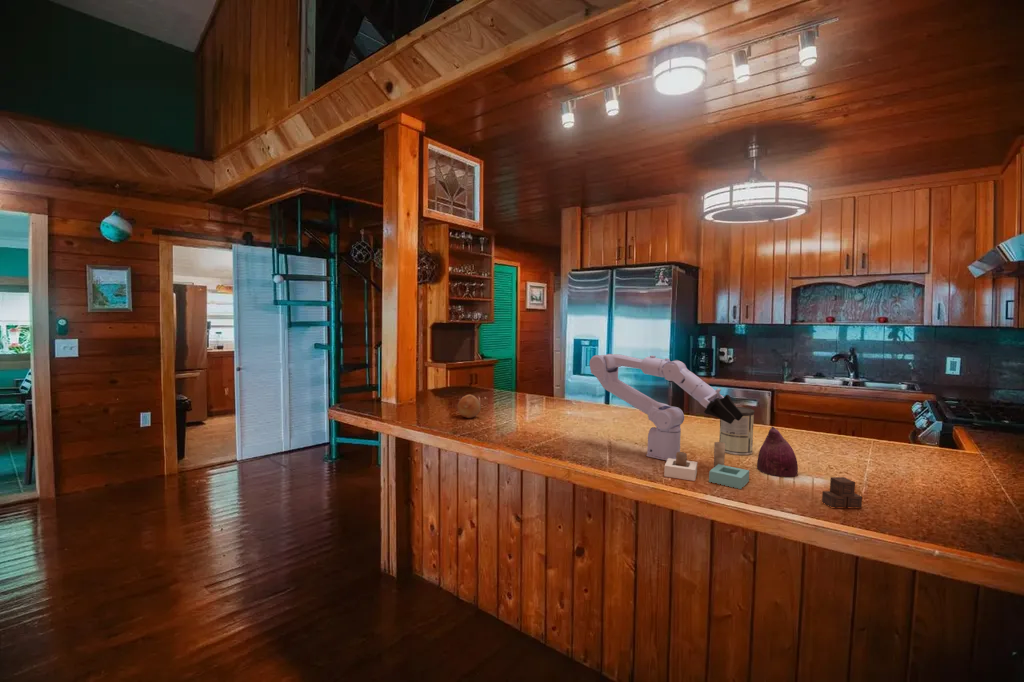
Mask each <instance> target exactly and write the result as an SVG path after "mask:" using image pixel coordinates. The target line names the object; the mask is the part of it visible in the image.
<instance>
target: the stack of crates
mask: <svg viewBox="0 0 1024 682" xmlns="http://www.w3.org/2000/svg"><path fill="white" fill-rule="evenodd" d="M829 485H830V486H829V490H822V493H821V494H822V495H821V497H822V498H821V503H822V502H823V503H822V504H824V503H825V504H827V505H829V506H831V507H861V508H863V507H862V506H863V496H862V495H860V494H858V493H856V491H855V489H856V482H855V481H853V480H851V479H849V478H846V477H844V476H839V477H837V476H833V477H832V476H831V477H830V482H829ZM825 504H824V505H825ZM827 505H826V506H827ZM829 506H828V507H829ZM831 507H830V508H831Z"/></svg>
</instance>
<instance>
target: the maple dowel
mask: <svg viewBox="0 0 1024 682" xmlns="http://www.w3.org/2000/svg"><path fill="white" fill-rule="evenodd" d="M713 447H714V448H713V449H714V450H713V468H714V467H715V466H717V465H718V464H720V465H725V457H726V456H725V455H726V453H725V443H722V442H719V441H715V442H714V446H713Z"/></svg>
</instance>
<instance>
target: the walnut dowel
mask: <svg viewBox="0 0 1024 682" xmlns="http://www.w3.org/2000/svg"><path fill="white" fill-rule="evenodd" d="M687 457H688V453H687V452H683V451H680V452H677V453H676V466H684V467H686V463H687V461H688V459H687Z"/></svg>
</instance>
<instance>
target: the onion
mask: <svg viewBox="0 0 1024 682" xmlns="http://www.w3.org/2000/svg"><path fill="white" fill-rule="evenodd" d="M456 406H457V407H456V408H457V410H458V414H460V415H461V416H462V417H464V418H467V419H473V418H474V417H476V416H478V414H479V413H480V411H481V409H482V407H481V403H480V400H479V399H478V398H477V397H476V396H475V395H473V394H470V393H469V394H466V395H464V396H462V397H461V398H460V399H459V400H458V403H457V405H456Z"/></svg>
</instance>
